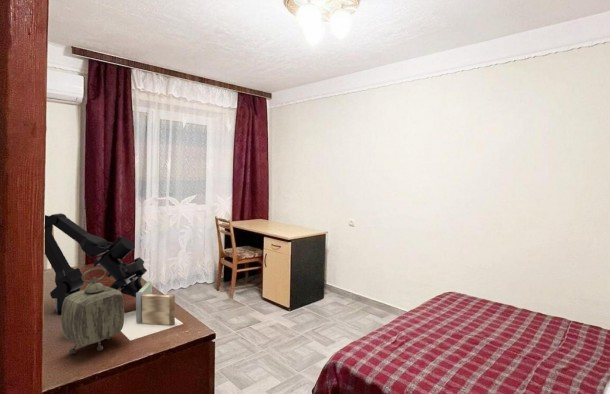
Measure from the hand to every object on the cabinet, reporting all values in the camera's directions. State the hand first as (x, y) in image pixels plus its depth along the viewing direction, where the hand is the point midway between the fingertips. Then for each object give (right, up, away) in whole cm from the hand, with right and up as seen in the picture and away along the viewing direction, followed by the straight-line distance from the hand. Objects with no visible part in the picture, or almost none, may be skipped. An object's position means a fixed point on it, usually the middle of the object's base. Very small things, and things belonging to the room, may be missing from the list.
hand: (143, 297), depth 128 cm
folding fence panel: (+1, -6, -1) cm, 6 cm away
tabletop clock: (-2, -9, -25) cm, 27 cm away
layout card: (+3, -7, -6) cm, 10 cm away
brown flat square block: (+9, -7, -8) cm, 14 cm away
